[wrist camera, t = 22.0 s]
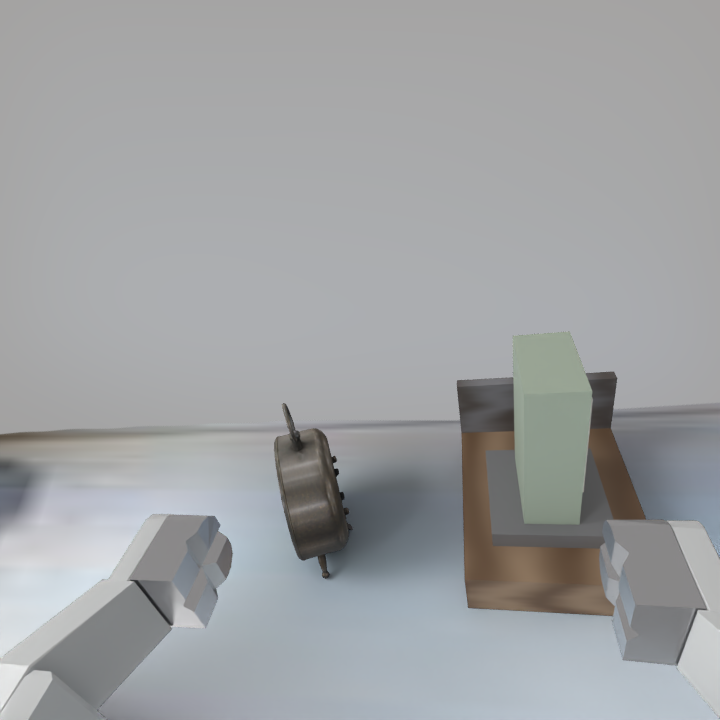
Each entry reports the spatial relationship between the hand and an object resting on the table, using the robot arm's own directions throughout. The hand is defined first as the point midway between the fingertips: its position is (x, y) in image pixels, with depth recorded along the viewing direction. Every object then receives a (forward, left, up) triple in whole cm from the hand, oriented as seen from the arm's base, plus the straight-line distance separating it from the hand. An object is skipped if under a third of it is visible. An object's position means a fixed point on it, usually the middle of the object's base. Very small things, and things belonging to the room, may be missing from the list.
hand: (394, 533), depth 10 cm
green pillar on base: (+7, +22, -26) cm, 35 cm away
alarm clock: (-13, +21, -30) cm, 39 cm away
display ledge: (+7, +23, -30) cm, 38 cm away
